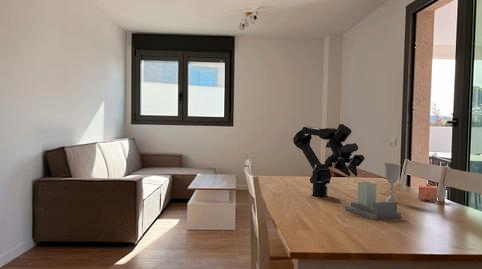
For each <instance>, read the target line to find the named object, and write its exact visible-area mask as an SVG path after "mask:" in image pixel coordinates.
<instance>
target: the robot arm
mask: <svg viewBox="0 0 482 269" xmlns="http://www.w3.org/2000/svg"><path fill="white" fill-rule="evenodd" d="M351 134H352V130H351V128H349V126H348V125H345V124H344V123H340V124H338V127H337V128H335V127H333V128H332V127H321V128H319V127H312V126H303V127H302V128H301V130H299V131H297V132H296V133H295V135H294V136H293V138H292V142H293V144H294V145H295V147H296V148H298V149H299V150H301V151H302V153H303V155H304V157H306V160H307V162H308V163H309V165H310V166H311V168H312V173H311V174H312V175H311V176H310V178H309V183H310V184H312V194H311V196H314V197H319V198H320V197H321V198H324V197H326V196H328V190H329V188H328V184H330V183H331V180H332V172H331V169H330V168H332V167H333V164H334V167H333V168H334V169H336V170H337V171H338V170H339V171H340V172H341V173H343V174H344V175H346V176H348V177H351V176H352V175H351V173H352V174H353V176H354V177H357V176H358V171H357V170H358V169H357V167H360V165H362V163H363V162H364V160H366V159H365V157H364V154H355V155H354V156H353V157H352V155H353V153H354V152H357V151H358V150H359V145H358V144H357V143H347V144H344V145H343V143H345V142H346V141H347V139H348V138H349V136H350V135H351ZM313 136H315V137H316V136H317V137H319V139H321V140H325V141H326V140H327V142H326V144H325V148H326V149H330V150H331V152H332V154H330V155H328V157H327V158H326V159H325V160H324V164H322V163H321V161H320V160H319V158H318V156H317V155H316V153H315V151H314V150H313V148H312V147H311V140H312V139H313V138H312V137H313ZM346 164H347V165H346Z"/></svg>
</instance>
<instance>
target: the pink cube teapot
mask: <svg viewBox="0 0 482 269" xmlns="http://www.w3.org/2000/svg"><path fill="white" fill-rule="evenodd" d="M417 188H418V189H417V191H418V192H417V193H418V194H417V199H418V200H420V201H421V202H425V201H427V200H428V201H429V202H430V203H434V202H437V200H438V186H437V185H431V184H430V183H425V184H418V187H417Z"/></svg>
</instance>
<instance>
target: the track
mask: <svg viewBox="0 0 482 269" xmlns="http://www.w3.org/2000/svg"><path fill="white" fill-rule="evenodd" d="M396 201H397V200H396ZM396 201H386V200H385V201H376V202H374V205H373V208H370V207H367V206H364V205H361V204H358V202H355V201H351V202H350V205H345V206H344V210H345V211H348V212H350V213H353V214H356V215H357V216H358V215H359V216H361V217H364V218H367V219H370V220H373V221H374V220H383V219H392V218H401V217H402V216H401V214H402V213H401V212H399V211H398V201H397V202H396Z"/></svg>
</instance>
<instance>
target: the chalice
mask: <svg viewBox="0 0 482 269" xmlns="http://www.w3.org/2000/svg"><path fill="white" fill-rule="evenodd" d="M383 164H384V166H385V168H384V175H385V178H386V179H387V182H388V183H389V184H390V187H389V189H390V191H389V193H390V194H389V196H387V197H386V200H385V202H386V201H396V202H397V203H398V201H397V199H396V197H395V196H394V194H393V193H394V184H396V183H397V181H398V179H399V177H400V171H401V170H400V169H401V168H400V167H401V166H402V164H401V163H394V162H389V163H388V162H386V163H385V162H384V163H383Z"/></svg>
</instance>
